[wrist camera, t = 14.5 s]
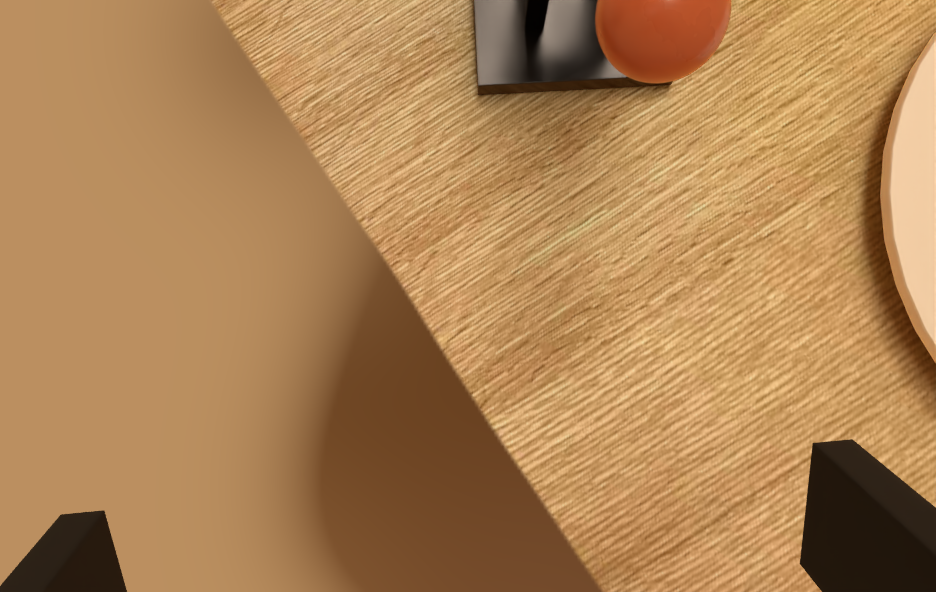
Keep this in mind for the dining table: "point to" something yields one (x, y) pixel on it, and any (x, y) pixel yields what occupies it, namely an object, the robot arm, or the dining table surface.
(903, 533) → the robot arm
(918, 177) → the plate
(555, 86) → the rod bracket
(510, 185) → the dining table surface
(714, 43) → the lever rod
